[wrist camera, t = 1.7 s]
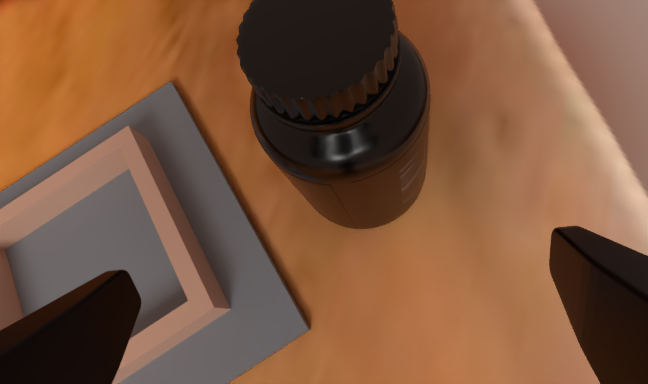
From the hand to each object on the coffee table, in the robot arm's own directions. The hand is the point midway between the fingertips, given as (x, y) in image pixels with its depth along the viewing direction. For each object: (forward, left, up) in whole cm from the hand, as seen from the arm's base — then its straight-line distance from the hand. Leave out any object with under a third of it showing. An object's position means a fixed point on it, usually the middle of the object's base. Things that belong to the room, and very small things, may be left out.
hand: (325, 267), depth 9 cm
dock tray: (+8, +13, -13) cm, 20 cm away
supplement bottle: (+6, -3, -13) cm, 15 cm away
